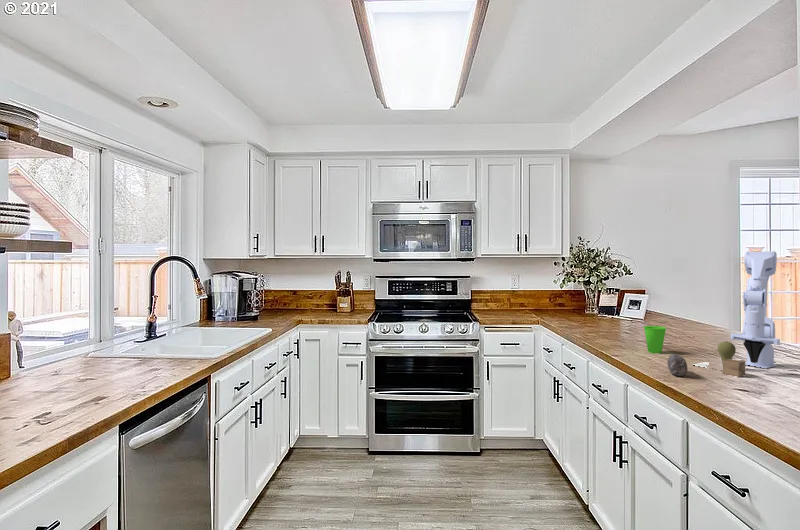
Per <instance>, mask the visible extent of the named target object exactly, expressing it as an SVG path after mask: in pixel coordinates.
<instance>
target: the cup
mask: <svg viewBox="0 0 800 530" xmlns="http://www.w3.org/2000/svg"><path fill="white" fill-rule="evenodd" d="M643 329H644V335H645V341H646V347H647V351H648V353H649V352H650V354H655V353H660V354H662V351H663V347H664V342H665V336H666V330H667V327H665V326H657V325H644V326H643Z"/></svg>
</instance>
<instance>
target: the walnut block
mask: <svg viewBox="0 0 800 530" xmlns="http://www.w3.org/2000/svg"><path fill="white" fill-rule="evenodd" d="M745 363H746V361H745V360H737V359H733V358H732V359H728V360H723V362H722V365H723V371H722V375H723V374H726V375H725V376H728V375H732V376H731V377H734V376H737V377H736V378H740V377H739V376H742V377H744V376H743V375H745V376H746V365H745Z"/></svg>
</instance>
